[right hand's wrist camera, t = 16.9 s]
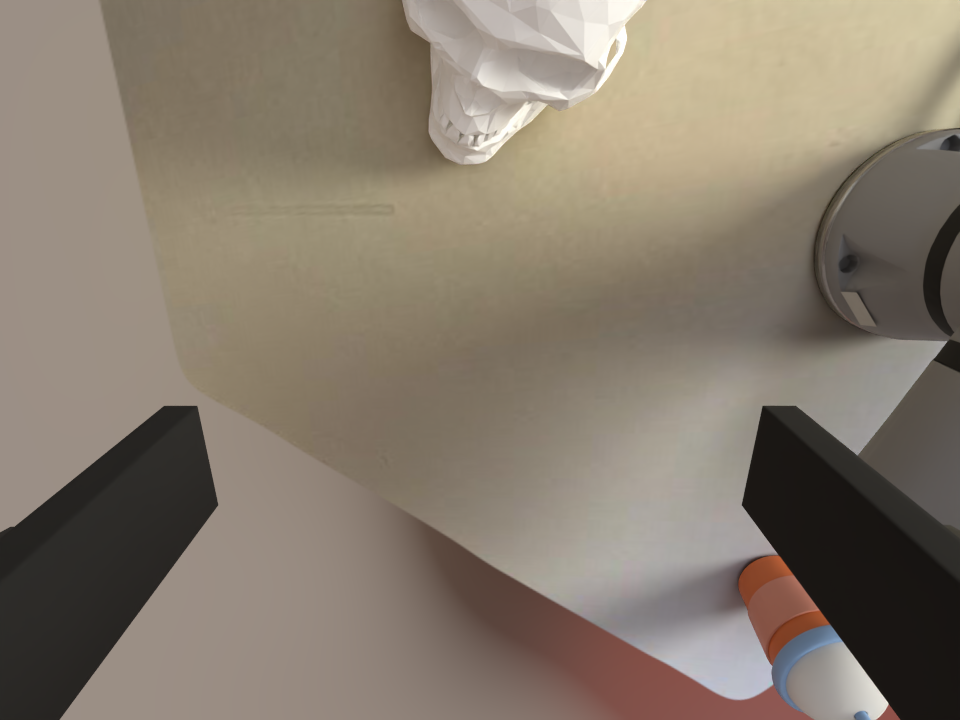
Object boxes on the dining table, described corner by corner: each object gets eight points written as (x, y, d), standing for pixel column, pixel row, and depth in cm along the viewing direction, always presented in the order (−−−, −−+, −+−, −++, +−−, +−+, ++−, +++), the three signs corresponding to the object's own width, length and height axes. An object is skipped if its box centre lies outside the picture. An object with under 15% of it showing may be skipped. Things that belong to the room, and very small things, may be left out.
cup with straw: (707, 603, 54) (808, 806, 37) (748, 532, 51) (879, 719, 34) (788, 622, 55) (923, 829, 38) (833, 554, 52) (1002, 746, 35)
